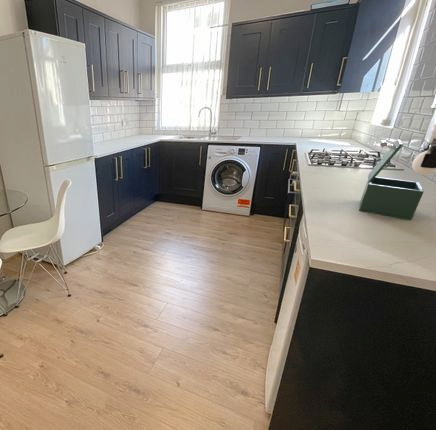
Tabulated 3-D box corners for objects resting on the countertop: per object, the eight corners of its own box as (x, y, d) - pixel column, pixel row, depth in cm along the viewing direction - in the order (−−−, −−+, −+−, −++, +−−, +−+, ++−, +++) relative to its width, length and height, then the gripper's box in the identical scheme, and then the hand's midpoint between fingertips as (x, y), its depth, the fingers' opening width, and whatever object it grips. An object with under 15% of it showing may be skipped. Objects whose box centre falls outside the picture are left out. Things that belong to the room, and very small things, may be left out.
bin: (407, 208, 111) (418, 182, 107) (411, 220, 100) (423, 191, 96) (360, 200, 120) (369, 176, 116) (358, 210, 109) (368, 183, 105)
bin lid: (400, 140, 107) (384, 135, 109) (403, 144, 96) (386, 138, 98) (370, 175, 115) (356, 169, 118) (370, 183, 104) (354, 176, 107)
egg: (403, 173, 88) (413, 149, 85) (415, 171, 90) (425, 147, 87) (429, 178, 82) (440, 152, 79) (441, 176, 84) (452, 150, 81)
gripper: (482, 102, 70) (450, 172, 76) (465, 102, 82) (438, 162, 89) (438, 102, 74) (412, 169, 81) (428, 102, 86) (406, 160, 93)
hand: (426, 165), depth 85 cm, fingers closed on egg, 6 cm apart
